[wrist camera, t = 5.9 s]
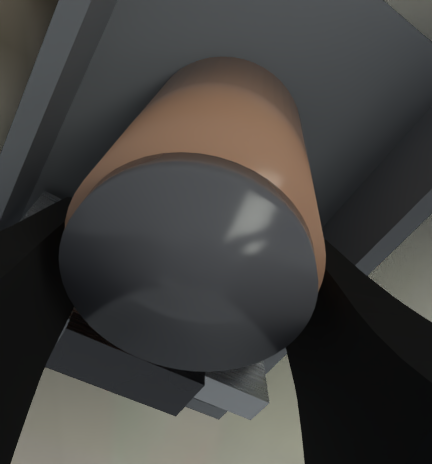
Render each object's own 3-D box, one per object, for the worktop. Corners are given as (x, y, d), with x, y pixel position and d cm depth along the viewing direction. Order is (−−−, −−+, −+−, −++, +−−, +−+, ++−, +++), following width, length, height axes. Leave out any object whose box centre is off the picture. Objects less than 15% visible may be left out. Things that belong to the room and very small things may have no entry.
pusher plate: (258, 291, 17) (277, 415, 12) (237, 316, 17) (246, 442, 12) (48, 183, 14) (-39, 285, 9) (32, 217, 15) (-56, 329, 10)
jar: (325, 80, 12) (383, 206, 6) (274, 218, 15) (278, 399, 9) (159, 37, 12) (43, 120, 6) (140, 185, 15) (50, 345, 8)
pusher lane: (468, 77, 13) (544, 103, 10) (217, 353, 20) (218, 419, 16) (170, -176, 10) (152, -247, 7) (-10, 252, 16) (-60, 311, 13)
